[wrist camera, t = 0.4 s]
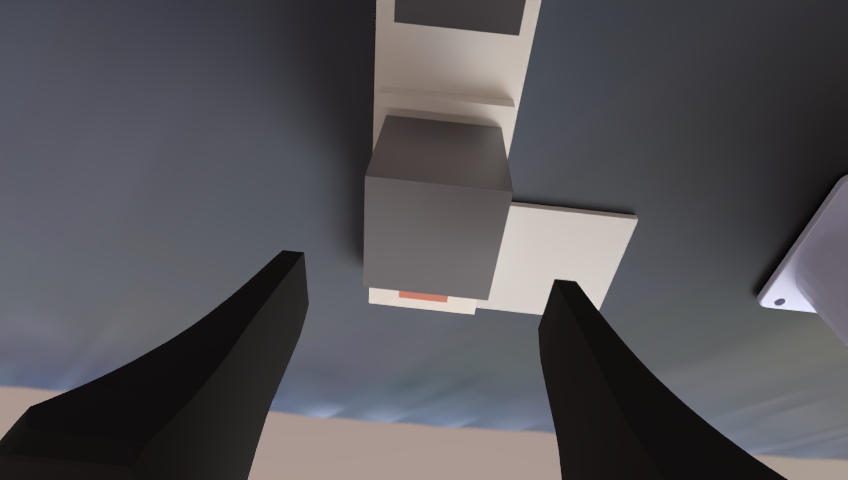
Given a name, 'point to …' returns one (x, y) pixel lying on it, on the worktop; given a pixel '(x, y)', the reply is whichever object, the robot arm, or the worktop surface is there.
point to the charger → (435, 207)
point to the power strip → (450, 80)
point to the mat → (556, 254)
